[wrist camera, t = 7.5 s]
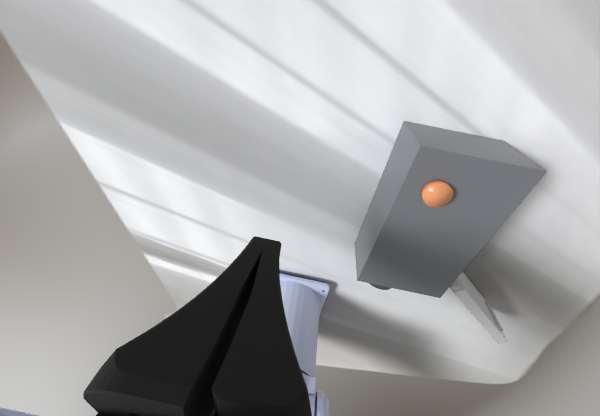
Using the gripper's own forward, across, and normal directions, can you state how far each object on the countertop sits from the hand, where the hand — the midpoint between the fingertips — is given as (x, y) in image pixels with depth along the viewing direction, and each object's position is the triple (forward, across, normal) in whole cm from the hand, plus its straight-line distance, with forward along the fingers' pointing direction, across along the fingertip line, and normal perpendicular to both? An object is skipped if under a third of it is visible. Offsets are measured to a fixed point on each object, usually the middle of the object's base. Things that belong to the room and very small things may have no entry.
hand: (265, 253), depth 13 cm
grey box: (+10, -10, +1) cm, 14 cm away
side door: (+10, -15, +6) cm, 18 cm away
